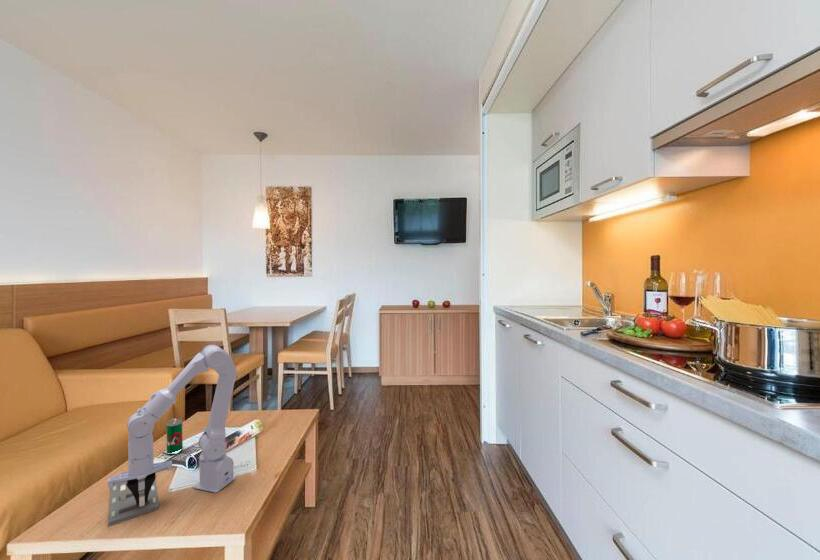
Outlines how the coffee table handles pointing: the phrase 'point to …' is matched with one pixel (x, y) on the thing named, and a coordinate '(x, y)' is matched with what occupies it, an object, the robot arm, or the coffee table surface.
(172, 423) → the soda can
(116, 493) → the breaker panel
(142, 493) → the handle
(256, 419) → the coffee table surface
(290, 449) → the coffee table surface
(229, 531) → the coffee table surface
